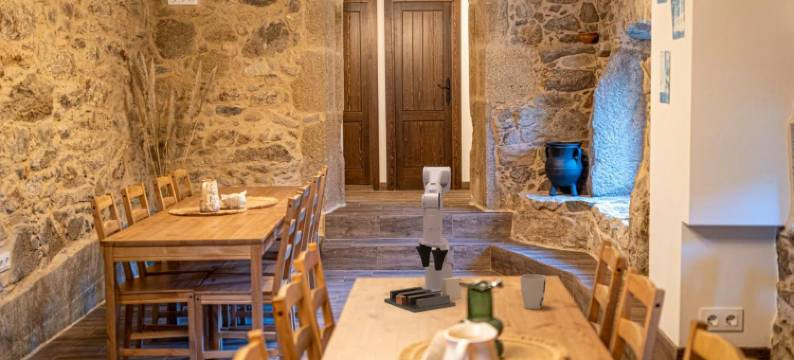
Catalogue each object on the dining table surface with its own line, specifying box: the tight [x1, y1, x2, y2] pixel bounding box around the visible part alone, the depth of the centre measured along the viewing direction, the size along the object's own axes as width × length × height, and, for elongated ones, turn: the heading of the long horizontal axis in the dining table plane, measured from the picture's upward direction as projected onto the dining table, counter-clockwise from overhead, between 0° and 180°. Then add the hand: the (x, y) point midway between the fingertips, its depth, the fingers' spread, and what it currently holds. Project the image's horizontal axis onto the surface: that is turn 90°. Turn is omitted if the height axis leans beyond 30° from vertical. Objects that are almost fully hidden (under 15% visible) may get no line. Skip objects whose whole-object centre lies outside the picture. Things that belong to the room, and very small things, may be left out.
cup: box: [520, 273, 547, 310], centre depth 289 cm, size 8×8×10 cm
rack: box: [383, 286, 456, 313], centre depth 296 cm, size 16×18×4 cm
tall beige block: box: [441, 276, 462, 301], centre depth 303 cm, size 6×2×7 cm, turn 123°
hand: (432, 268), depth 302 cm, fingers open, 7 cm apart
